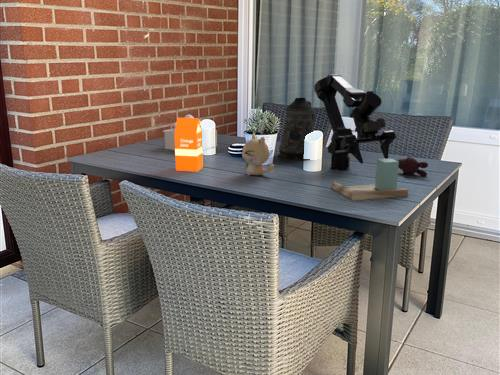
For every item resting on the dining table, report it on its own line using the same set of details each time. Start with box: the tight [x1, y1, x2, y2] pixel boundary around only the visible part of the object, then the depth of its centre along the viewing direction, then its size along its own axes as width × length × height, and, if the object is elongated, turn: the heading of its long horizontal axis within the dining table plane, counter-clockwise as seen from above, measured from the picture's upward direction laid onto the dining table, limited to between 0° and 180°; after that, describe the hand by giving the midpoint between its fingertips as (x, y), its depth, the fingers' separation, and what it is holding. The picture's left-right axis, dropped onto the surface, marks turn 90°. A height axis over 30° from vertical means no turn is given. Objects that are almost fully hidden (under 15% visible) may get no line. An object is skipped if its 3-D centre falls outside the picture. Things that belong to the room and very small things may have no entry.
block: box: [374, 157, 399, 190], centre depth 165 cm, size 5×5×10 cm
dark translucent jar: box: [278, 97, 316, 161], centre depth 218 cm, size 16×19×25 cm
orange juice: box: [174, 117, 204, 173], centre depth 193 cm, size 8×9×20 cm
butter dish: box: [162, 114, 218, 151], centre depth 234 cm, size 18×18×16 cm
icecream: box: [395, 156, 429, 177], centre depth 188 cm, size 7×7×15 cm
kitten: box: [241, 132, 275, 176], centre depth 186 cm, size 15×10×15 cm
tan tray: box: [331, 181, 409, 201], centre depth 164 cm, size 15×20×2 cm
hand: (374, 161), depth 172 cm, fingers open, 9 cm apart
